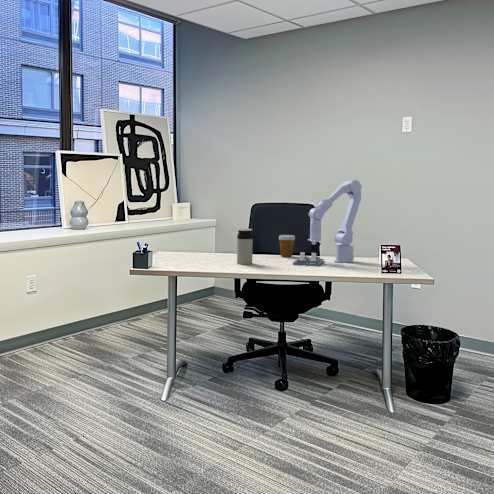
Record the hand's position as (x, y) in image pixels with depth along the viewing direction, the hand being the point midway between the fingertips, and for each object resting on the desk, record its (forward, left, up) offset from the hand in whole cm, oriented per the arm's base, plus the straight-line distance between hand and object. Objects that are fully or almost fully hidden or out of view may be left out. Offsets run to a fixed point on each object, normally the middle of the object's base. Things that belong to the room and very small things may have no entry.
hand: (314, 256), depth 298 cm
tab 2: (0, +5, -2) cm, 5 cm away
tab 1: (+6, +5, -2) cm, 8 cm away
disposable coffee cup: (+18, -17, -4) cm, 25 cm away
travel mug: (+35, +14, -4) cm, 38 cm away
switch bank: (+3, +2, -3) cm, 5 cm away
